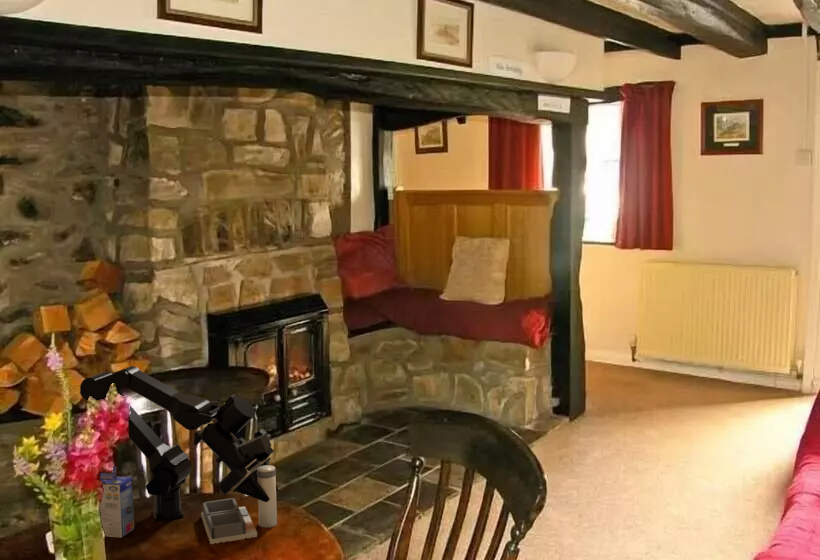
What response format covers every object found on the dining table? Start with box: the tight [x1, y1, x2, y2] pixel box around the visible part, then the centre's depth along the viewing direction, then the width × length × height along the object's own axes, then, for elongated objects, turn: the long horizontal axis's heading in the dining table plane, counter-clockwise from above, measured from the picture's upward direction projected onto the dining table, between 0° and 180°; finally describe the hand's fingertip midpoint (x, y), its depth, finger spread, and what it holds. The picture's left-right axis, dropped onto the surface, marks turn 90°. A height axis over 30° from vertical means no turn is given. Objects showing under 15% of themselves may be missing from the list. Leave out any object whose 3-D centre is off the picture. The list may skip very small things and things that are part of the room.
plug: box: [257, 464, 278, 529], centre depth 192 cm, size 4×4×13 cm
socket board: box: [200, 497, 258, 545], centre depth 191 cm, size 15×10×4 cm, turn 20°
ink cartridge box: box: [99, 466, 135, 539], centre depth 188 cm, size 10×6×14 cm, turn 78°
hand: (272, 496), depth 191 cm, fingers open, 5 cm apart
